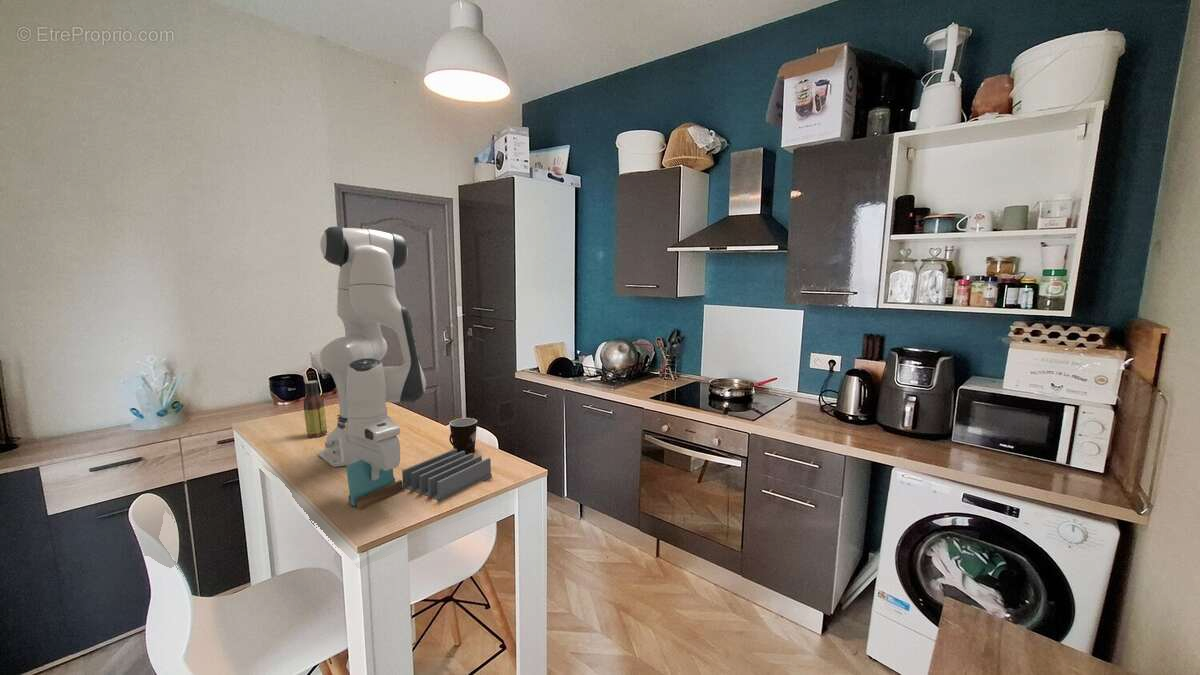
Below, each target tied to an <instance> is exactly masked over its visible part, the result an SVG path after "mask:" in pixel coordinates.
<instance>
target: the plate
mask: <svg viewBox="0 0 1200 675" xmlns="http://www.w3.org/2000/svg"><path fill="white" fill-rule="evenodd" d="M345 468H346V475H347V476H346V477H347V478H346V479H347V484H348V491H349V495H350V499H351V505H353V506H356V499H357V498H359V497H361V496H364V495H366V494H368V493H371V492H373V491H375V490H378V489H380V488H382V487H385V486H387V485H389V484H392V483H394V478H395V476H394V475H395V474H394V468H393V469H390V470H387V471H385V470H383V469H380V471H379V479H377V480H371V479H370V478H369V473H370V472H371V471H372V468H371V464H368V463H366V462H364V461H363V460H360V461H357V462H354V463H352V464H349V465H345Z"/></svg>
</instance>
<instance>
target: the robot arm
mask: <svg viewBox="0 0 1200 675" xmlns="http://www.w3.org/2000/svg"><path fill="white" fill-rule="evenodd" d="M319 244H320V245H319V246H320V250H321V254H322V256H323V259H324V260H325V261H327V262H328V263H330V264H332V265H336V266H338V267H339V274H338V282H337V302H336V304H337V305H336V308H337V309H336V312H337V313H336V314H337V315H338V317H339V319H340V320H341V321H342V323H343V328H344V332H345V335H344V336H342V337H338V338H334V339H333V340H331V341H330V342H329V343H327V344H326V345H324V347H323V348H322V349H321V351H320V354H319V361H320V364H321V366H322V367H323V369H324V370H325V371H326V372H328V373H329V374H330V375H331V377H332V380H333V381H334V384H335V387H336V390H337V393H338V394H337V395H338V402H339V403H338V404H339V414H337V415H336V417H337V418H336V419H337V423H336V426H337V427H335V428H334V429H333V430H332V431H331V432H330V433H328V435H327V436H326V439H325V440H326V441H325V442H324V447H325V448H323V449H321V450H319V451H318V454H317V455H318V456H319V457H320V458H322V460H324V461H325V462H327V464H329V465H330V466H331V467H333V468H334V467H335V468H337V467H342V466H343V467H344V466H346V465H349V464H352V463H354V462H357V461H360V460H363V461H364V462H366V463H368V464H371V468H372V471H371V472H370V473H369V478H370V479H371V480H377V479H379V471H380V469H383V470H385V471H387V470H390V469H393V470H394V469H396V468H398V467H399V465H400V463H401V445H400V439H399V437H398V436H399V435H400V434H401V431H400V430H401V429H400V426H399V425H398V424H397V423H395V421H394V420H392V419H391V417H390V416H389V415H388V408H387V405H386V403H407V404H408V403H411V404H414V403H416V402H417V401H418V400H419V399H421V398H422V397H423V396H424V394H425V393H426V387H427V381H426V377H425V373H424V371H423V368H422V365H421V359H420V355H419V350H418V345H417V341H416V336H415V331H414V327H413V323H412V322H413V321H412V319H411V315H410V312H409V310H408V308H407V307H405V306H403V305H402V304H401V303H400V302H399V299H398V297H397V293H396V278H395V271H394V270H398V269H400V268H402V267H403V266H404V265H406V262H407V258H408V255H409V250H408V246H407V241H406V240H405V238H404V237H403V236H401V235H399V234H396V233H393V232H390V233H389V232H385V231H382V230H376V229H372V228H371V229H370V228H365V229H364V228H356V227H342V226H329V227H328V228H326V229H325V230H324V232H323V234H322V236H321V239H320V243H319ZM381 326H386V327H387V328H390V329H391V330H392V331H394V332H395V333H396V334H397V338H398V340H399V345H400V346H399V347H400V351H401V355H402V360H403V363H402V365H398V366H394V365H392V366H391V365H390V366H383V363H382V361H381V360H383V358H384V357H385V356H386V355H387V352H388V344H387V340H386V339H385V338H384V337H383V334H382V330H381Z"/></svg>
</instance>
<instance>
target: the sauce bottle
mask: <svg viewBox="0 0 1200 675" xmlns="http://www.w3.org/2000/svg"><path fill="white" fill-rule="evenodd" d="M318 386H319V381H318V380H308V381H305V382H304V387H305V397H304V400H303V413H304V420H305V427H306V433H307V437H309V436H310V437H309V438H313V437H314V438H318V437H317V436H320V437H323V436H325V435H327V434H328V427H327V417H326V409H325V408H326V407H325V404H324V398H323V397H322V395H321V394H320V392H319V387H318ZM326 433H327V434H326ZM322 435H323V436H322Z"/></svg>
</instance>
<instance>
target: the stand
mask: <svg viewBox="0 0 1200 675" xmlns="http://www.w3.org/2000/svg"><path fill="white" fill-rule="evenodd" d="M405 491H406V490H405V489H404V487H403V480H401V479H399V480H397V481H396V478H395V477H394V483H392V484H389V485H387V486H385V487H382V488H380V489H378V490H375V491H373V492H371V493H368V494H366V495H364V496H361V497H359V498H357V499H356V506H353V505H351V499H350V494H349V495H348V503H347V505H348V506H350V507H352V508H355V509H357V510H359V511H364V510H365V509H367V508H370V507H373V506H374V505H376V504H378V503H381V502H383V501H386V500H387V499H389V498H392V497H394V496H397V495H399V494H401V493H403V492H405Z"/></svg>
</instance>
